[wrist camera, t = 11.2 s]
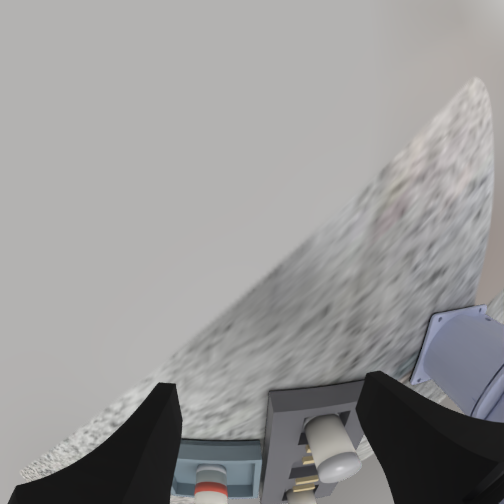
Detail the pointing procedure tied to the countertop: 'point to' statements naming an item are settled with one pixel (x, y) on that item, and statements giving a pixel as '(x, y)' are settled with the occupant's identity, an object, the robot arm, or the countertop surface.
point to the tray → (227, 454)
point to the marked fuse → (211, 484)
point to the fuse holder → (302, 438)
